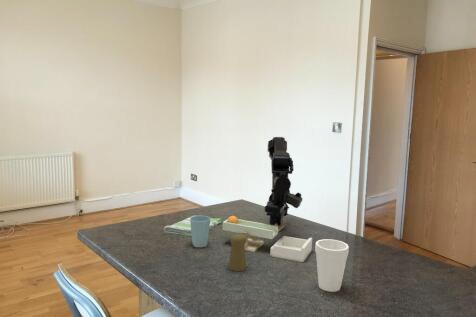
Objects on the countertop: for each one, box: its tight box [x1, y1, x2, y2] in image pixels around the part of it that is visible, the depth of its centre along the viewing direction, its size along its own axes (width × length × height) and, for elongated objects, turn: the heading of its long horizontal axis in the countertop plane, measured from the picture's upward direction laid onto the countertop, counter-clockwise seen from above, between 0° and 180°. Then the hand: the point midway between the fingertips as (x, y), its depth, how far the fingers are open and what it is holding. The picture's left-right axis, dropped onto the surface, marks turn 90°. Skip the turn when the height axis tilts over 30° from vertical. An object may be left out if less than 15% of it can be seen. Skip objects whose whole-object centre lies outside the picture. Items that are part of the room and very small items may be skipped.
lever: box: [221, 218, 285, 240], centre depth 149 cm, size 16×20×3 cm
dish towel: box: [163, 214, 224, 237], centre depth 166 cm, size 17×23×4 cm
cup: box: [190, 215, 212, 248], centre depth 144 cm, size 8×8×10 cm
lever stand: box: [241, 232, 265, 253], centre depth 145 cm, size 11×8×7 cm
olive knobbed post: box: [227, 233, 247, 272], centre depth 125 cm, size 6×6×11 cm
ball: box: [227, 215, 239, 224], centre depth 147 cm, size 4×4×4 cm
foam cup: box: [314, 238, 350, 293], centre depth 113 cm, size 10×9×13 cm
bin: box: [269, 235, 313, 263], centre depth 138 cm, size 12×12×5 cm
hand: (279, 225), depth 151 cm, fingers closed, pressing on lever
